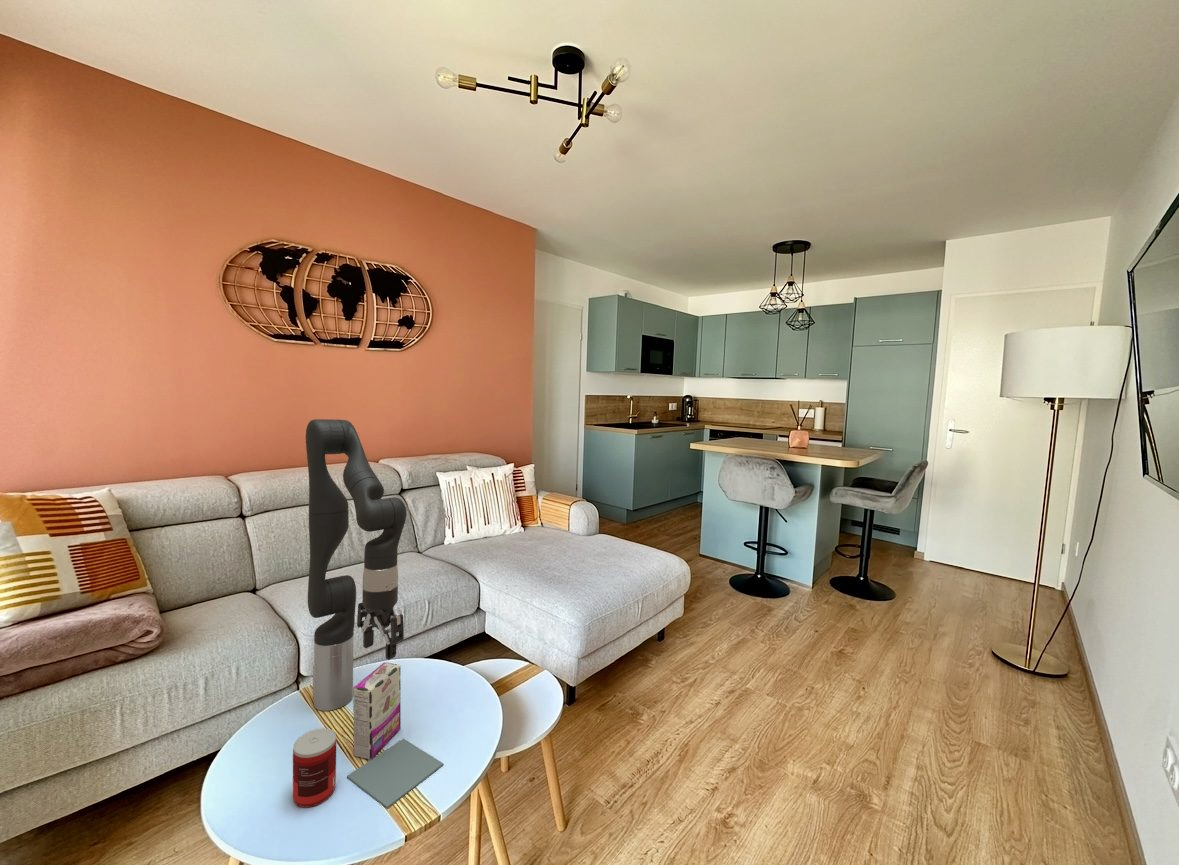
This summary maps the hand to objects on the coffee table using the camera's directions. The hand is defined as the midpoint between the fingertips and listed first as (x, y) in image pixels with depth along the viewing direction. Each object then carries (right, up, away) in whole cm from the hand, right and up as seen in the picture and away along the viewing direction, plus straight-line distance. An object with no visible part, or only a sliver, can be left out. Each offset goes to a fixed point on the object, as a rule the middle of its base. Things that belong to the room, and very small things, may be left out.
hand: (379, 652), depth 110 cm
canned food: (-7, -23, -14) cm, 27 cm away
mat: (+7, -23, -7) cm, 25 cm away
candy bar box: (-1, -22, +1) cm, 22 cm away
